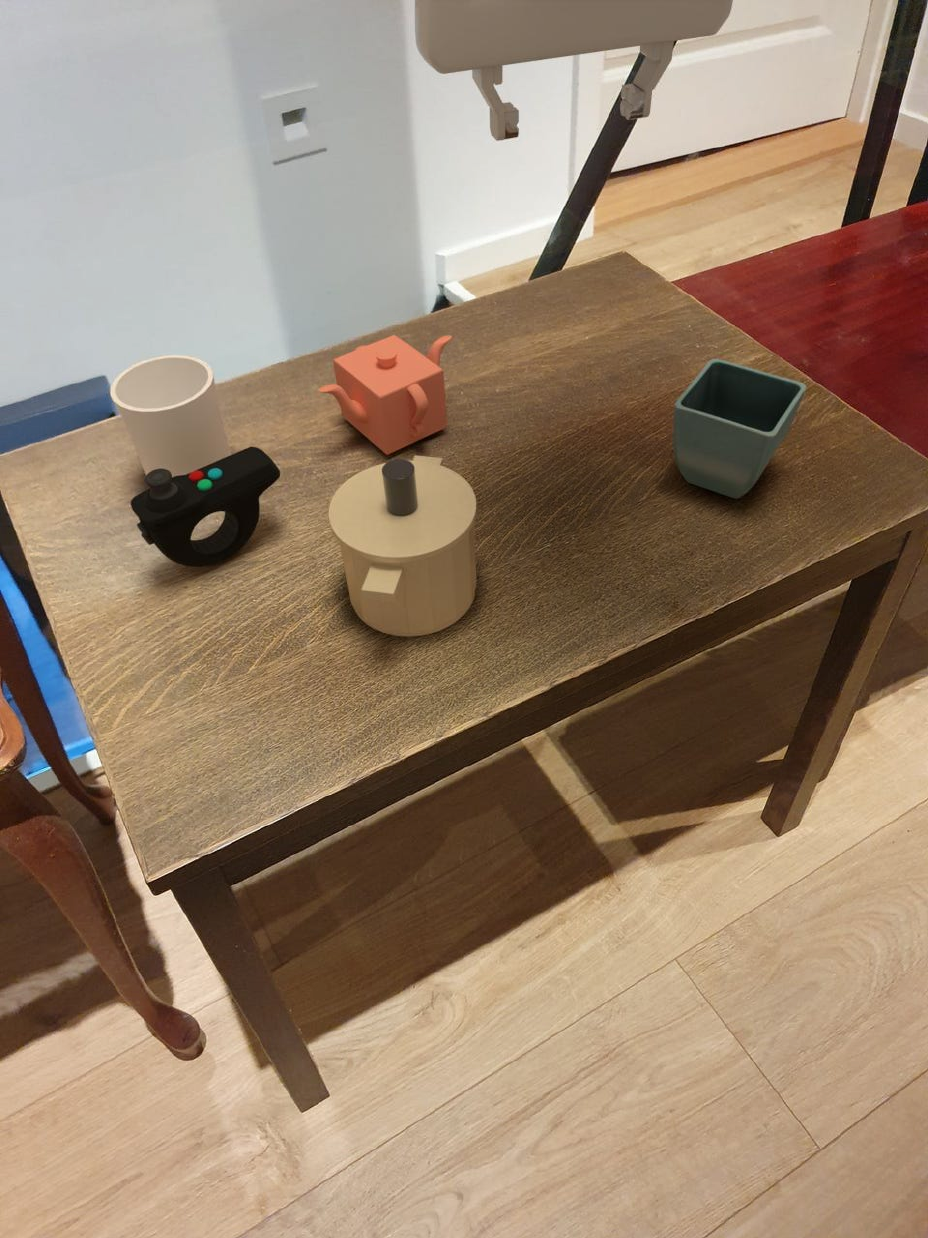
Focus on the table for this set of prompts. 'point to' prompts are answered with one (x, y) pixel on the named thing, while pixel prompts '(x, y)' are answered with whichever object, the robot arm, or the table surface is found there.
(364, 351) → the teapot
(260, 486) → the controller
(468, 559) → the pot
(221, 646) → the table surface
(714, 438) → the flower pot
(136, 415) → the mug
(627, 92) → the robot arm
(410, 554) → the lid
